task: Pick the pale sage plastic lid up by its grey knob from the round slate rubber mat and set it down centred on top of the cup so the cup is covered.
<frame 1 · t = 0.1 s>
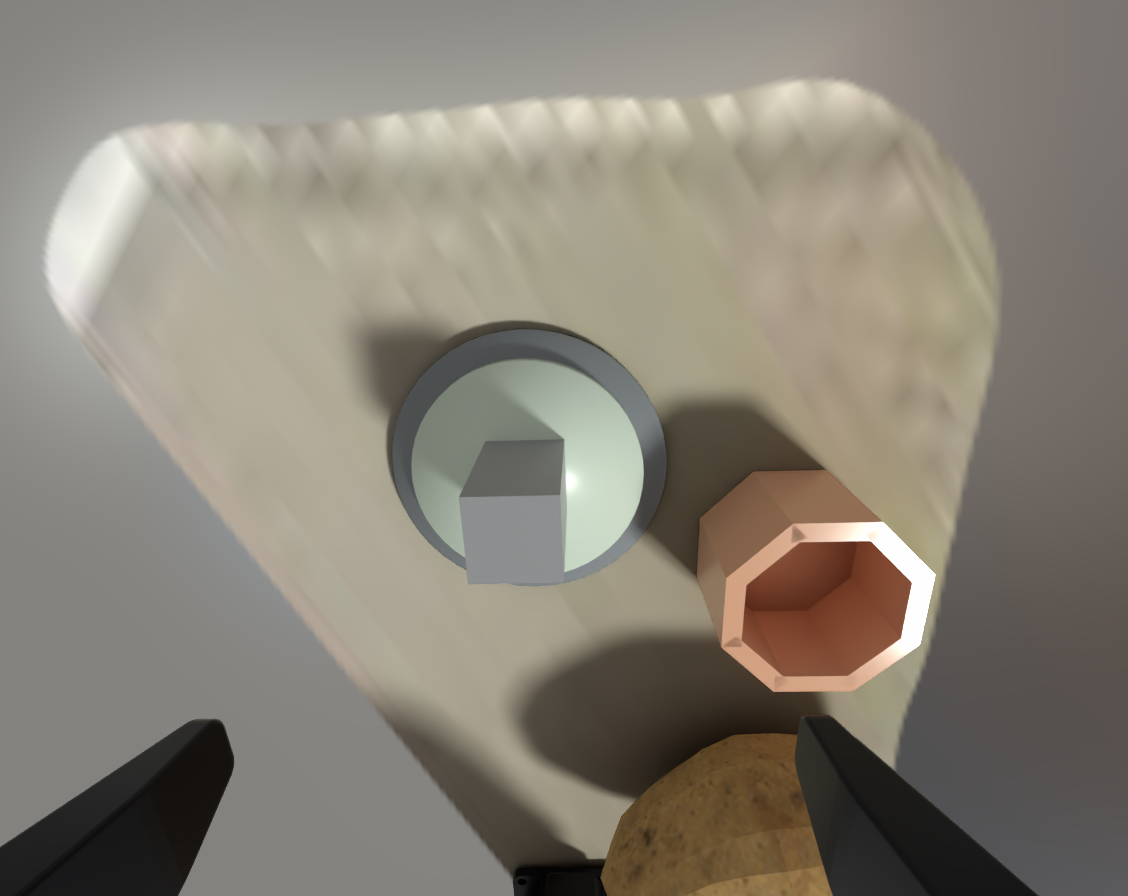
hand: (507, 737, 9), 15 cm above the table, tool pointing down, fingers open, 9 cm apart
lid: (528, 469, 22), resting on mat
potato: (735, 761, 28), on the table
cup: (781, 546, 24), on the table
mat: (529, 465, 23), on the table
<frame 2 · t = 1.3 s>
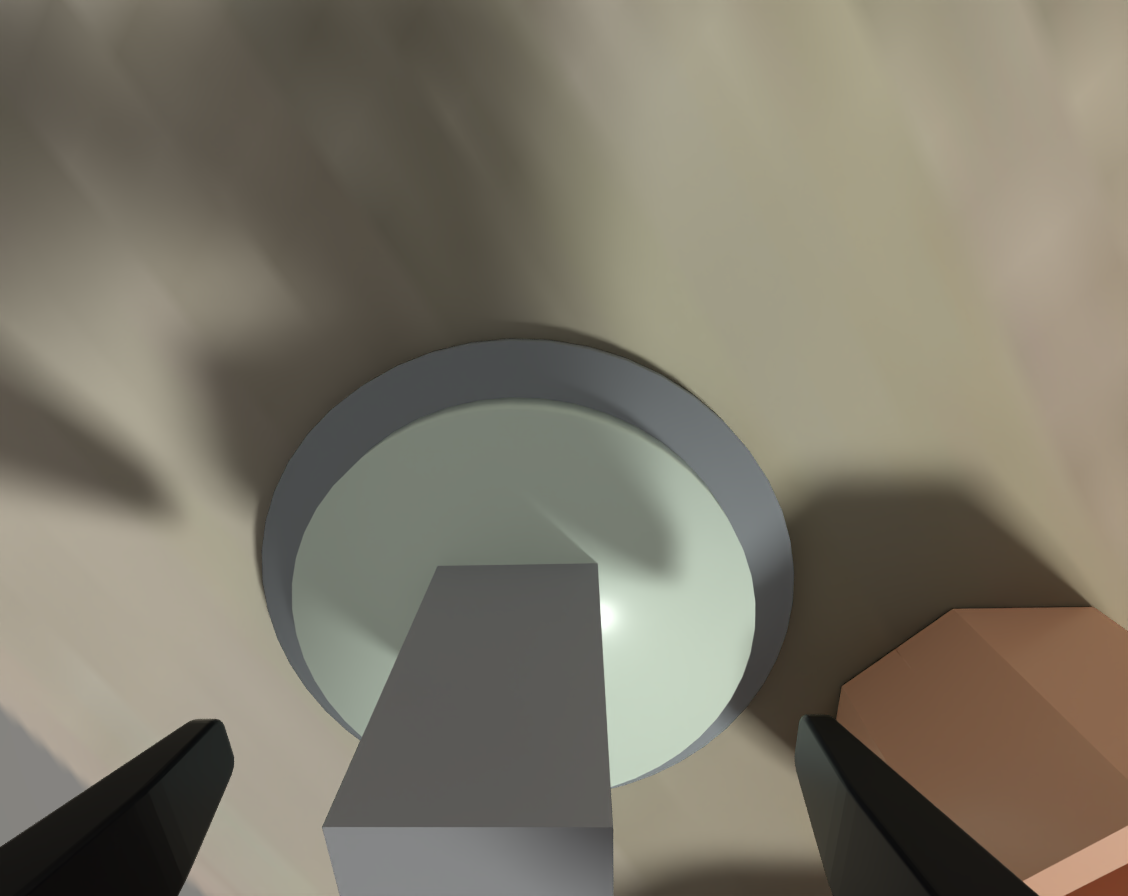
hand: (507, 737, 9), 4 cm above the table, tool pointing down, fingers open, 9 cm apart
lid: (525, 606, 12), resting on mat
cup: (986, 734, 13), on the table
mat: (527, 595, 12), on the table
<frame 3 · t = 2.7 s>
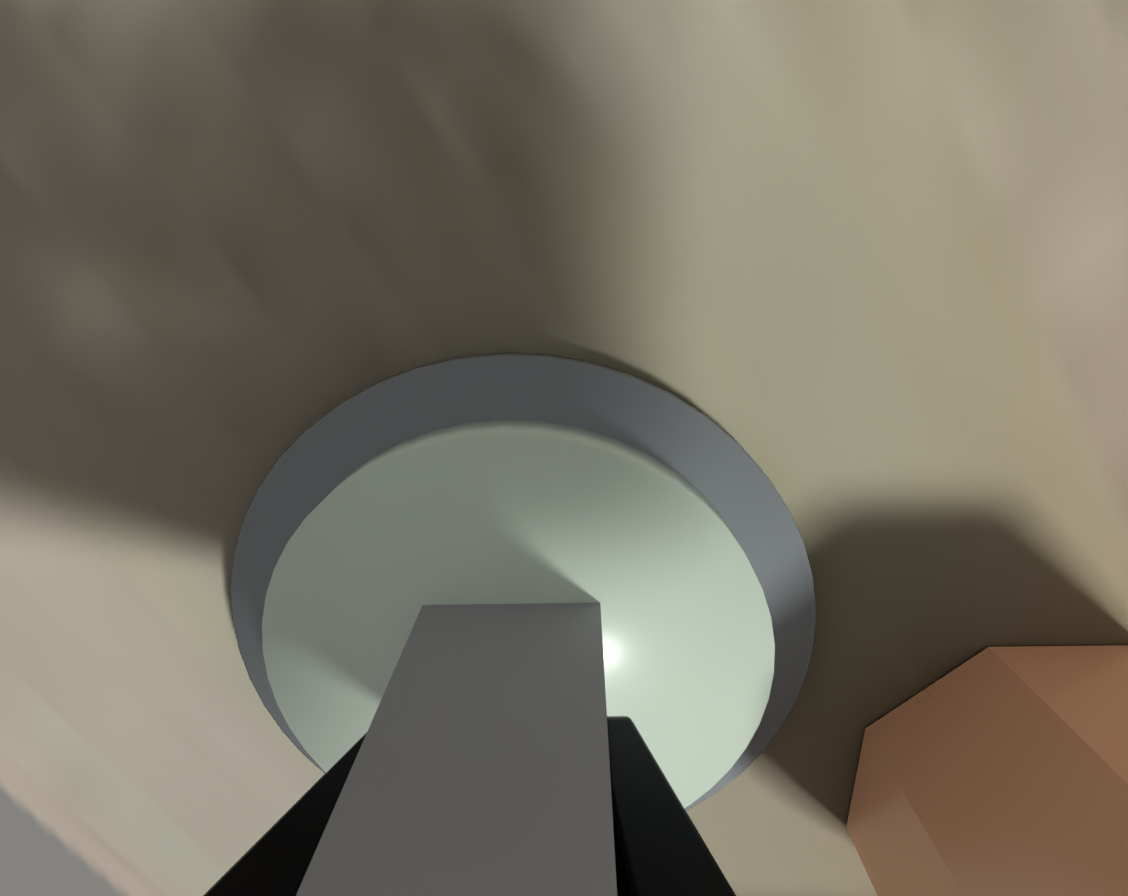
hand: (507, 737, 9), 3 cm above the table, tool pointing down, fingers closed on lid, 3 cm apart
lid: (521, 644, 11), resting on mat, touching gripper
cup: (1021, 779, 12), on the table
mat: (522, 631, 11), on the table
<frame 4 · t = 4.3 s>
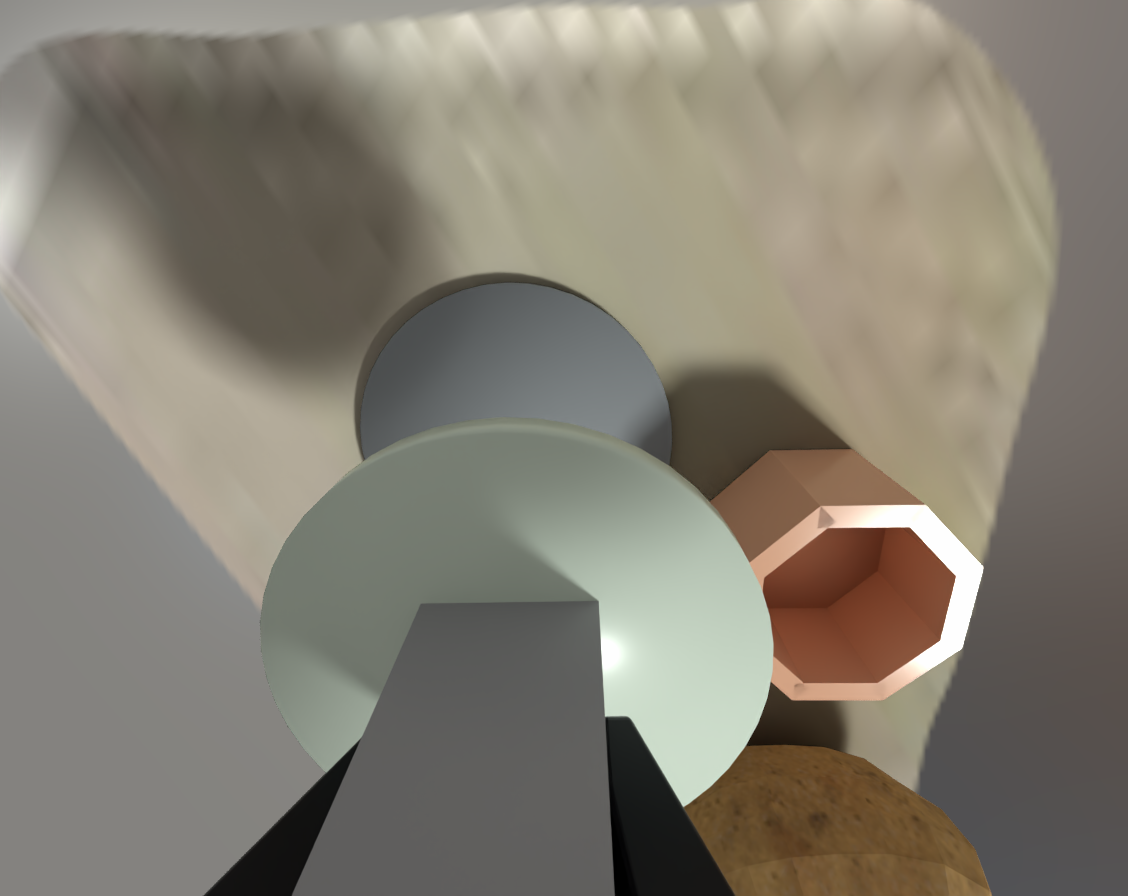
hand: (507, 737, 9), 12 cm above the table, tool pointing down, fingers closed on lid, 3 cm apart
lid: (519, 643, 11), point 10 cm above the table, touching gripper
potato: (743, 774, 26), on the table
cup: (799, 536, 21), on the table
mat: (516, 441, 20), on the table
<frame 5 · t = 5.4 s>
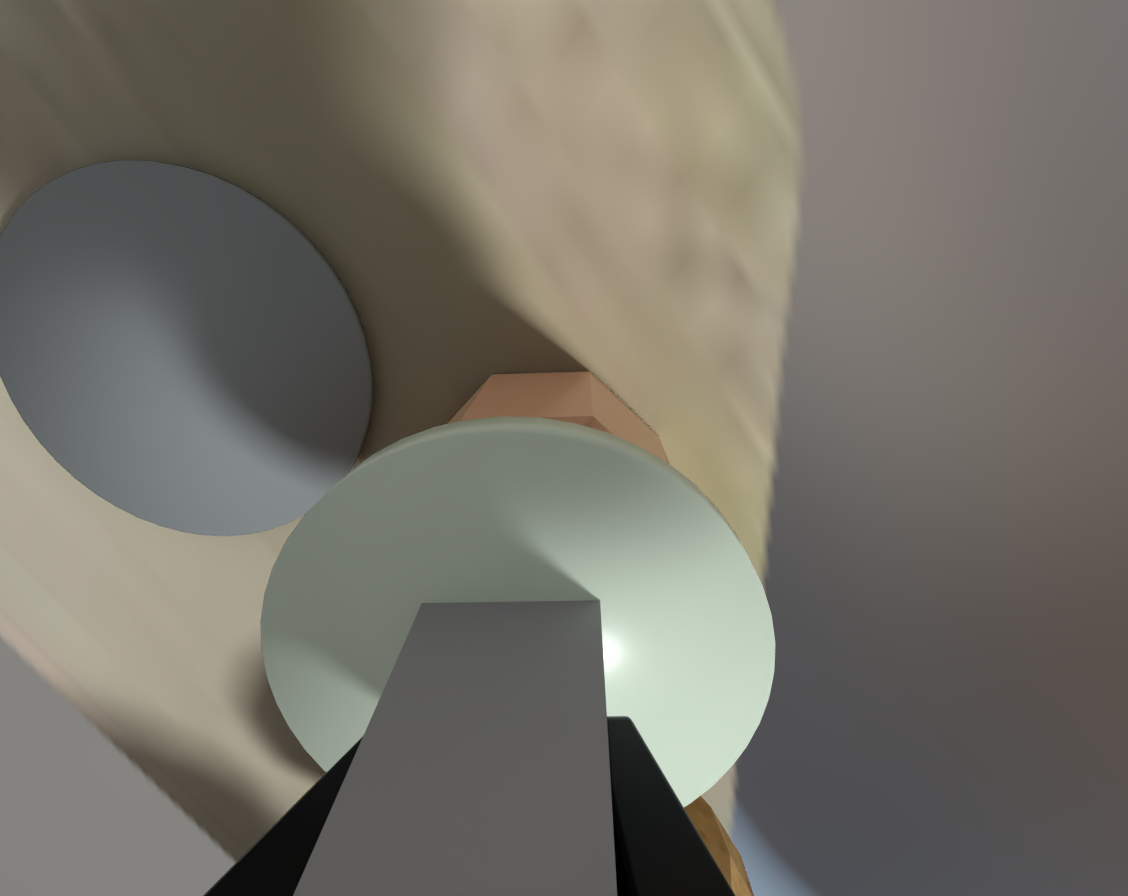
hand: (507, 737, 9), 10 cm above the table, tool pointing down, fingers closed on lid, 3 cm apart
lid: (520, 643, 11), point 8 cm above the table, touching gripper
potato: (536, 767, 22), on the table
cup: (546, 481, 18), on the table
mat: (189, 367, 17), on the table
when the fingers open (8 cm above the table, at t = 6.3 s): lid drops 1 cm, resting on cup.
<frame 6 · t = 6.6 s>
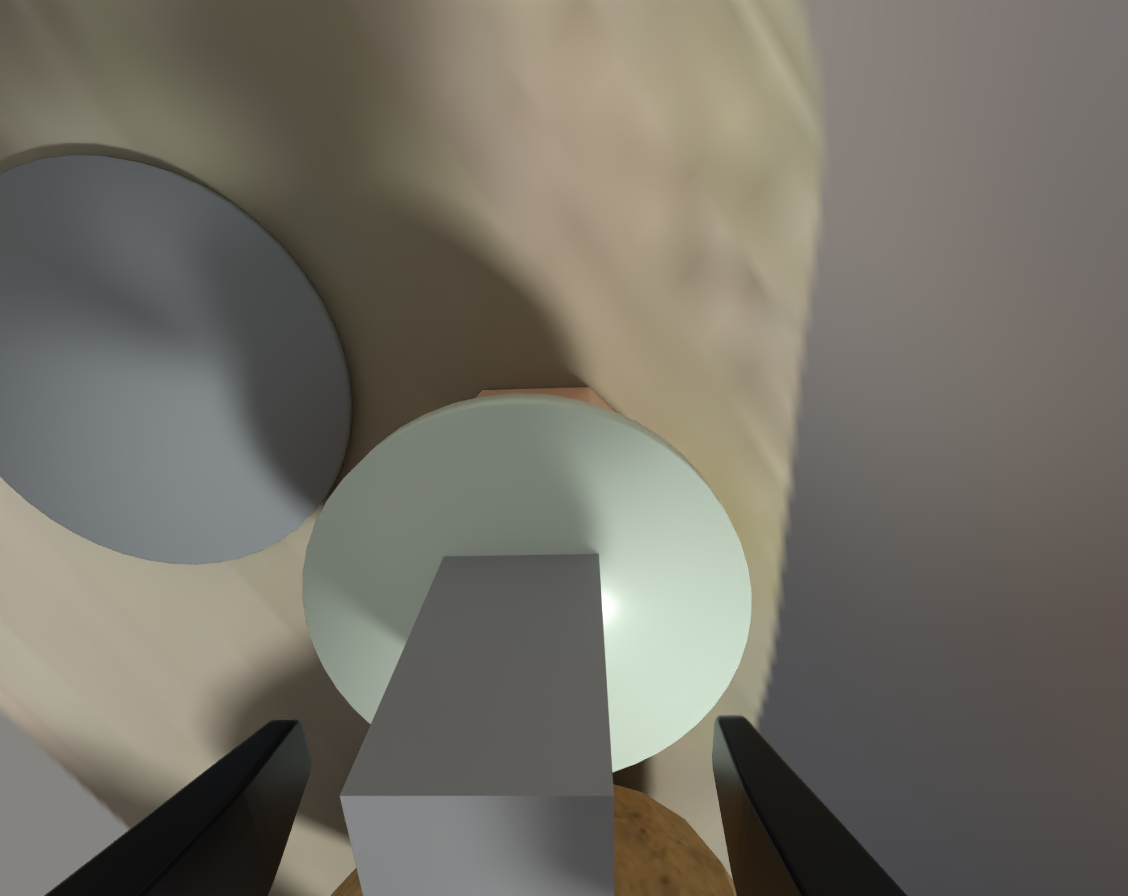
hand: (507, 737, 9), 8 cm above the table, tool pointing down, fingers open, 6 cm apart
lid: (528, 596, 12), point 4 cm above the table, touching cup
potato: (532, 807, 21), on the table
cup: (541, 505, 16), on the table
mat: (151, 382, 15), on the table
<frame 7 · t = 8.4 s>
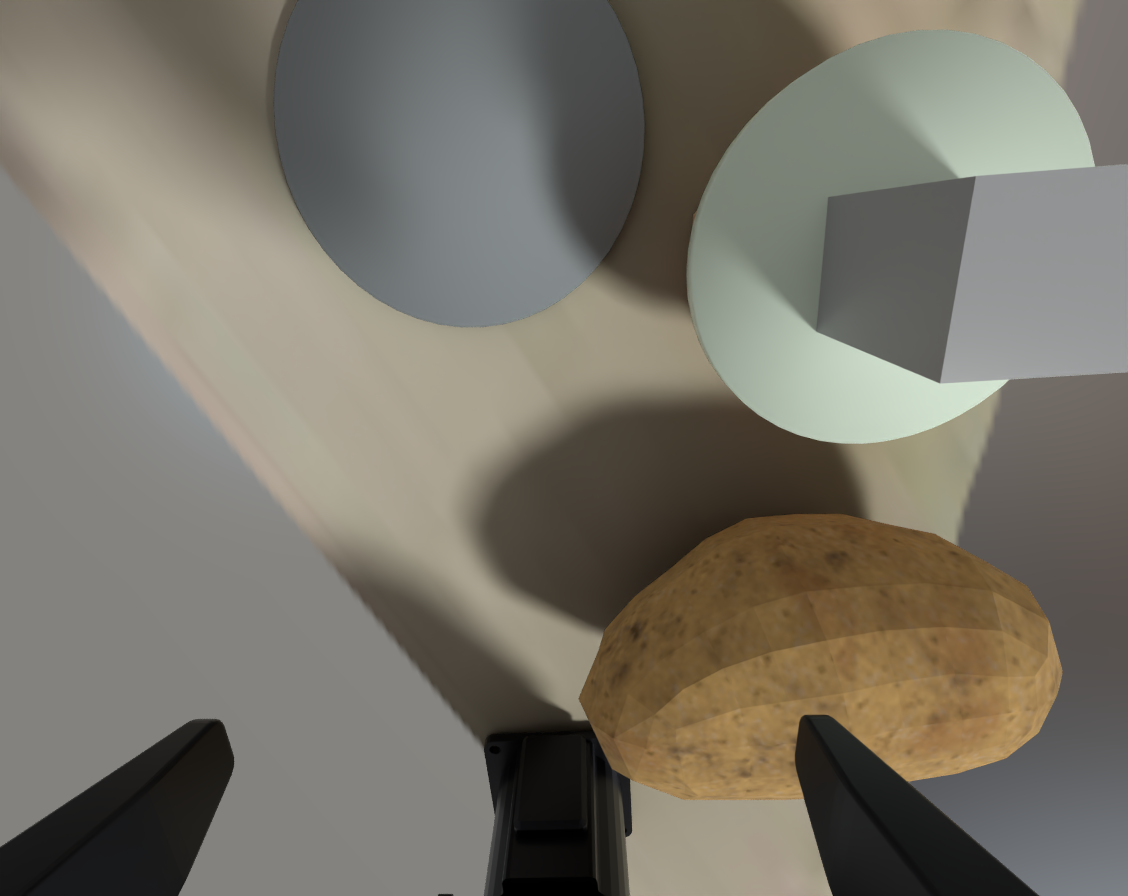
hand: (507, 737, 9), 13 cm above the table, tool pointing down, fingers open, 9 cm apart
lid: (871, 260, 14), point 4 cm above the table, touching cup
potato: (750, 581, 23), on the table
mat: (461, 142, 17), on the table
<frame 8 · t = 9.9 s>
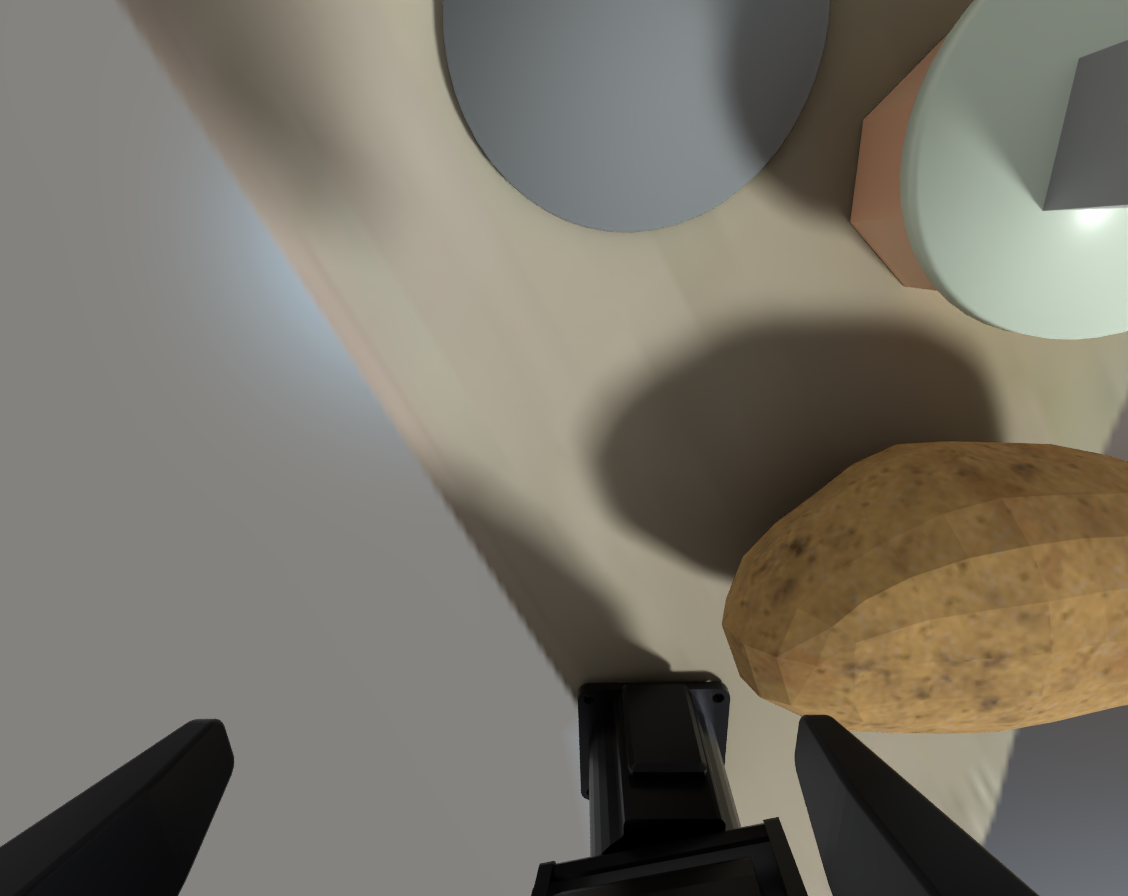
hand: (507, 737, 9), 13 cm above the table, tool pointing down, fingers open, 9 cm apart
lid: (1098, 141, 13), point 4 cm above the table, touching cup
potato: (873, 524, 22), on the table
cup: (971, 167, 17), on the table
mat: (632, 31, 16), on the table
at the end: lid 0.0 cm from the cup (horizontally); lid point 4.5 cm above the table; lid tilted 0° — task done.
